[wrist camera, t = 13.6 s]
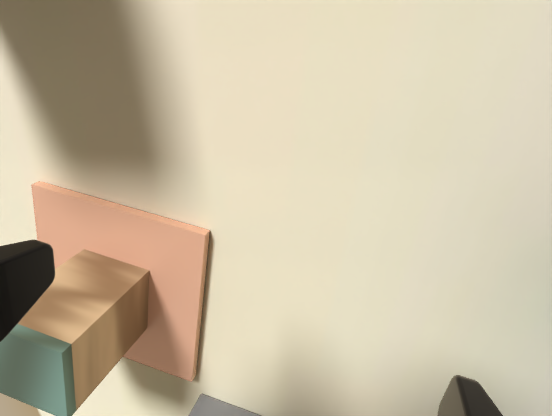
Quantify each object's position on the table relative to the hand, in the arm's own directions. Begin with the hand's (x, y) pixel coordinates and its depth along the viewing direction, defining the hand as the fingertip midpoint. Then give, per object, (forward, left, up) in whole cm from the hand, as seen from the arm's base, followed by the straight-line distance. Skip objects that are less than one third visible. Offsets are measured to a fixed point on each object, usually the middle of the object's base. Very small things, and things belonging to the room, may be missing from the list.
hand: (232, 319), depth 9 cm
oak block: (+11, +11, -11) cm, 19 cm away
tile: (+11, +11, -12) cm, 20 cm away
